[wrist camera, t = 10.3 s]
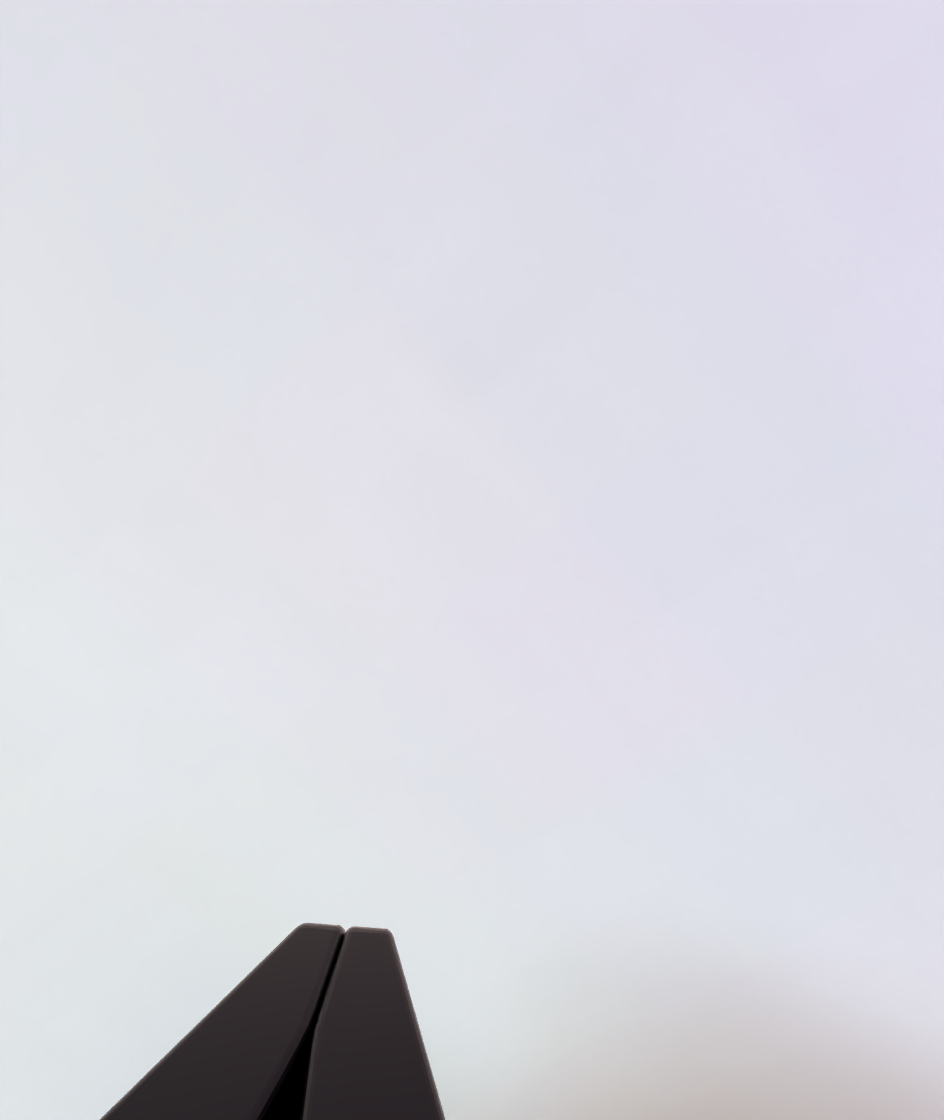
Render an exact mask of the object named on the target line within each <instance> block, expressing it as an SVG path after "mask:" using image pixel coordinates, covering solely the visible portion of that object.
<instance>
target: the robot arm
mask: <svg viewBox="0 0 944 1120" xmlns="http://www.w3.org/2000/svg"><path fill="white" fill-rule="evenodd" d="M100 1120H445V1117H444V1113H443V1110H442V1106H441V1103H440V1099H439V1096H438V1092H437V1089H436V1085H435V1082H434V1078H433V1075H432V1071H431V1067H430V1064H429V1060H428V1057H427V1053H426V1050H425V1046H424V1043H423V1039H422V1036H421V1032H420V1029H419V1025H418V1022H417V1018H416V1015H415V1011H414V1008H413V1004H412V1001H411V997H410V994H409V990H408V986H407V983H406V979H405V976H404V972H403V969H402V965H401V962H400V958H399V955H398V951H397V948H396V944H395V941H394V937H393V935H392V933H391V932H390V931H389V930H387V929H381V928H368V927H351V928H349V929H348V930H347V932H345V930H344V929H343V928H342V927H341V926H339V925H328V924H315V923H304V924H302V925H300V926H298V927H297V928H295V929H294V930H293V931H292V932H291V933H290V934H289V935H288V936H287V937H286V938H285V939H284V940H283V941H282V942H281V943H280V944H279V945H278V946H277V947H276V948H275V949H274V950H273V951H272V952H271V953H270V954H269V955H268V956H267V957H266V958H265V959H264V960H263V961H262V962H261V963H260V964H259V965H258V966H257V967H256V968H255V969H254V970H253V971H252V972H250V973H249V974H248V975H247V976H246V977H245V978H244V979H243V980H242V981H241V982H240V983H239V984H238V985H237V986H236V987H235V988H234V989H233V990H232V991H231V992H230V993H229V994H228V995H227V996H226V997H225V998H224V999H223V1000H222V1001H221V1002H220V1003H219V1004H218V1005H217V1006H216V1007H215V1008H214V1009H213V1010H212V1011H211V1012H210V1013H209V1014H208V1015H207V1016H205V1017H204V1018H203V1019H202V1020H201V1021H200V1022H199V1023H198V1024H197V1025H196V1026H195V1027H194V1028H193V1029H192V1030H191V1031H190V1032H189V1033H188V1034H187V1035H186V1036H185V1037H184V1038H183V1039H182V1040H181V1041H180V1042H179V1043H178V1044H177V1045H176V1046H175V1047H174V1048H173V1049H172V1050H171V1051H170V1052H169V1053H168V1054H167V1055H166V1056H165V1057H164V1058H163V1059H161V1060H160V1061H159V1062H158V1063H157V1064H156V1065H155V1066H154V1067H153V1068H152V1069H151V1070H150V1071H149V1072H148V1073H147V1074H146V1075H145V1076H144V1077H143V1078H142V1079H141V1080H140V1081H139V1082H138V1083H137V1084H136V1085H135V1086H134V1087H133V1088H132V1089H131V1090H130V1091H129V1092H128V1093H127V1094H126V1095H125V1096H124V1097H123V1098H122V1099H121V1100H120V1101H119V1102H118V1103H116V1104H115V1105H114V1106H113V1107H112V1108H111V1109H110V1110H109V1111H108V1112H107V1113H106V1114H105V1115H104V1116H103V1117H102V1118H101V1119H100Z"/></svg>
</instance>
